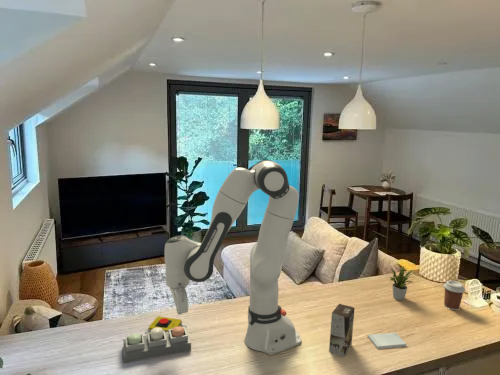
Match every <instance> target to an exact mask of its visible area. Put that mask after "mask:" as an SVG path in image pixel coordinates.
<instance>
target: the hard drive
mask: <svg viewBox="0 0 500 375" xmlns="http://www.w3.org/2000/svg"><path fill="white" fill-rule="evenodd" d="M367 339H368V340H369V341H370V342H371V344H372V345H373V346H374V347H375V348H376V349H378V350H379V349H382V350H383V349H390V348H391V349H392V347H393V348H403V347H402V346H405V347H407V343H406V342H405V341H404V339H402V338H401V337H400V335H399V334H398V333H397V332H388V333H377V334H376V333H375V334H368V335H367Z"/></svg>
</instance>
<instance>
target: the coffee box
mask: <svg viewBox="0 0 500 375" xmlns="http://www.w3.org/2000/svg"><path fill="white" fill-rule="evenodd" d="M354 318H355V307H353V306H352V305H346V304H342V303H338V305H336V307H335V308H334V309H333V310H332V312H331V318H330V319H331V321H330V333H329V344H328V345H329V349H328V352H331V353H333V354H335V355H338V356H341V357H345V356H346V355H347V353H348V351H349V350H350V348H351V346H352V345H353V344H352V343H353V333H354V332H353V331H354V330H353V329H354Z"/></svg>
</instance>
